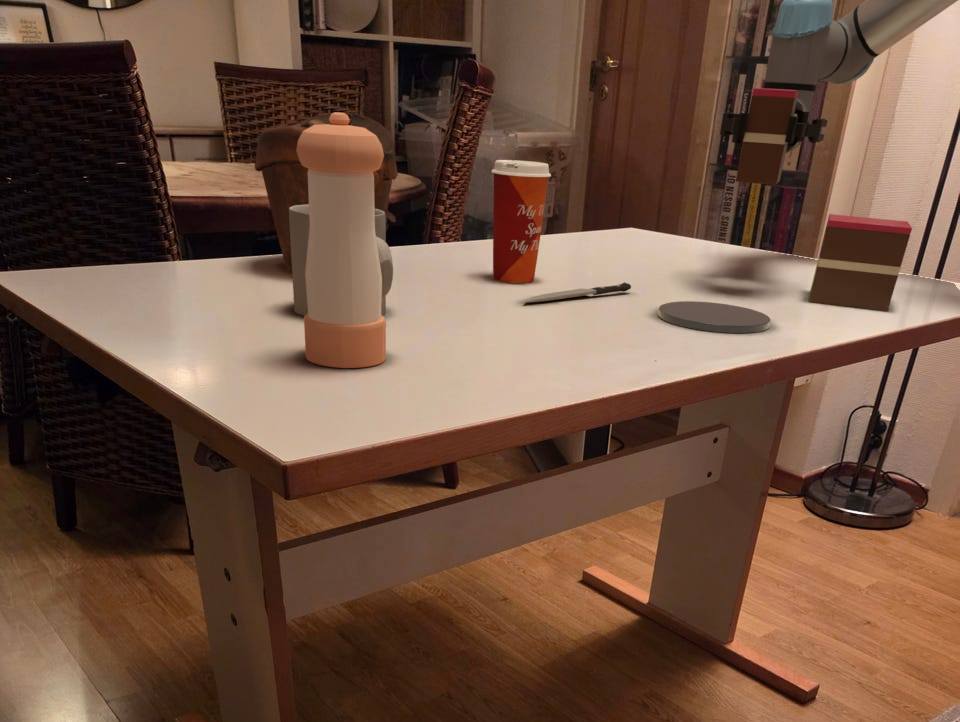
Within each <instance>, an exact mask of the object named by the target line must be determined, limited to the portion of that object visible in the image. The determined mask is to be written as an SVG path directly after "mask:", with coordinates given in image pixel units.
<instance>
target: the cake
mask: <svg viewBox="0 0 960 722" xmlns="http://www.w3.org/2000/svg"><path fill="white" fill-rule="evenodd" d="M912 230H913V227H912V226H911V224H910V223H909V221H908V220H907V221H906V220H897V219H885V218H874V217H866V216H865V217H864V216H853V215H843V214H835V213H834V214H833V213H829V214H828V218H827V221H826V226H825V229H824V233H823V237H822V242H821V247H820V250H819V254H818V257H817V262H816V267H815V270H814V274H813V278H812V283H811V285H810V291H809V296H808V297H809V298H808V302H809V303H816V304H824V305H832V306H839V307H840V306H841V307H849V308H857V309H865V310H874V311H883V312H888V311H889V308H890V304H891V302H892V299H893V294H894V291H895V288H896V284H897V281H898V278H899V274H900V270H901V267H902V264H903V262H904V261H903V260H904V257H905V253H906V251H907V248H908V247H907V246H908V244H909V240H910V236H911V233H912Z"/></svg>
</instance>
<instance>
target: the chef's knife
mask: <svg viewBox="0 0 960 722" xmlns="http://www.w3.org/2000/svg"><path fill="white" fill-rule="evenodd" d="M631 289H632V285H631V284H630V283H627V282H625V281H624V282H622V283H619V284H616V285H608V286H606V285H605V286H595V287H592V288H576V289H570V290H563V291H555V292H550V293H545V294H539V295H536V296H534V297H531V298H527V299H525V300H524V301H523V303H538V302H539V303H540V302H547V301H555V300H556V301H557V300H562V299H569V298H575V297H583V296H590V295H593V296H599V295H604V294H609V293H610V294H611V293H616V292H617V293H618V292H623V293H624V292H627V291H629V290H631Z"/></svg>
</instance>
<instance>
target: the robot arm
mask: <svg viewBox="0 0 960 722" xmlns="http://www.w3.org/2000/svg"><path fill="white" fill-rule="evenodd" d="M958 1H959V0H864V1H863V2H861V3H860V4H858V5H857V6H856V7H855V8H853V9H852V10H851V11H849V12H848V13H847V14H845V15H844V16H842V17H841V18H840V19H838V20H834V19H833V11H834V4H833V0H783V1H782V2H781V3H780V5H779V9H778V11H777V16H776V19H775V20H776V21H775V24H774V27H773V28H772V37H771V42H770V48H769V54H768V59H767V64H766V70H765V76H764V81H763V87H762V88H764V89H782V90H796V91H797V92H799V94H798V98H797V103H796V108H795V112H794V116H790V120H789V124H788V129H787V134H786V139H785V142H786V143H788V145H787V150H786V154H788V153H790V152H793V151H794V150H795V149H797V148H798V147H799V146H800V145H801V143H802V142H804V138H807V141H808V142H810V144H816V143H820V142H823V141H824V138H825V133H826V130H827V125H828V119H826V118H823V117H822V118H818V117H817V118H815V119H814V118H812V119H811V123H810V115H811V110H812V106H813V102H814V98H815V97H814V96H815V92H816V90H817V89H816V88H817V85H818V81H822V82H827V83H830V84H836V85H840V84H845V83H852V82H854V81H857V80H859V79H861V77H863V76H864V75H865V74H866V73H867V72H868V70H869V69H870V67H871V66H872V64H873V63H874V61H875V59H876V58H877V57H878V56H880V55H881V54H883V53H884V52H885V51H887V50H889V49H890V48H891V47H893V46H895V45H896V44H897V43H899V42H900V41H902V40H903V39H904V38H906V37H907V36H909V35H910V34H911V33H913V32H914V31H916V30H918V29H919V28H920V27H921V26H923V25H926V23H928V22H929V21H931V20H932V19H934V18H935V17H936V16H938V15H939V14H941V13H942V12H943V11H945V10H947V9H948V8H949V7H951V6H952V5H954V4H956V3H957V2H958ZM748 114H749V112H748V113H745V112H740V113H734V112H733V111H726V112H723V114H722V118H721V124H720V130H719V135H720V136H721V137H727V136H732V137H731V138H732V140H731V143H733V144H742V141H743V140H744V135H745V130H746V124H747V119H748Z"/></svg>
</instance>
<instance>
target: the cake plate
mask: <svg viewBox="0 0 960 722" xmlns="http://www.w3.org/2000/svg"><path fill="white" fill-rule="evenodd" d="M657 316H658V318H660V319H661V320H663V321H664V322H667V323H669V324H672V325H676V326H679V327H682V328H687V329H691V330H697V331H705V332H713V333H723V334H725V333H726V334H752V333H760V332H763V331H766V330H768V329H769V328H770V326H771V317H770V316H768V314H766V313H763V312H761V311H758V310H755V309H751V308H747V307H743V306H738V305H733V304H726V303H720V302H711V301H710V302H709V301H693V300H692V301H691V300H690V301H688V300H686V301H684V300H683V301H671V302H667V303H663V304H660V305H659V306H658V310H657Z"/></svg>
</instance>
